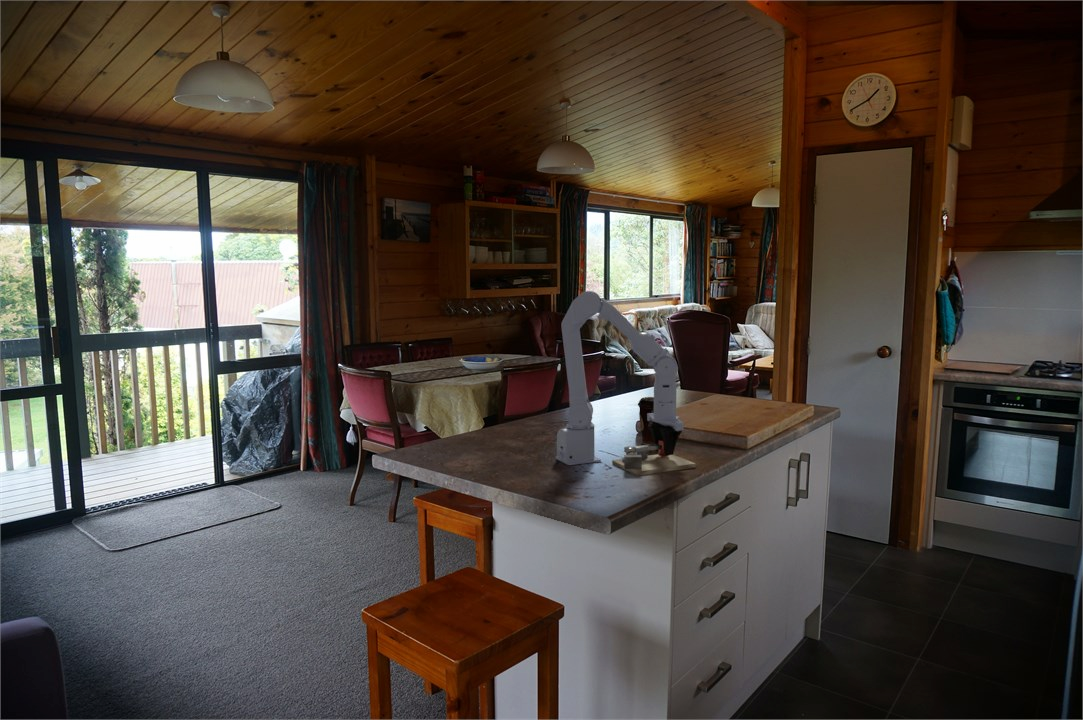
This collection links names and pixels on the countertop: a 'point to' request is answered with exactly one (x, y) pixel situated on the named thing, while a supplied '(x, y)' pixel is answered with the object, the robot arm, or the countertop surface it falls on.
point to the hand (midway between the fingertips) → (664, 452)
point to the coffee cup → (646, 407)
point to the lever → (646, 449)
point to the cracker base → (652, 464)
